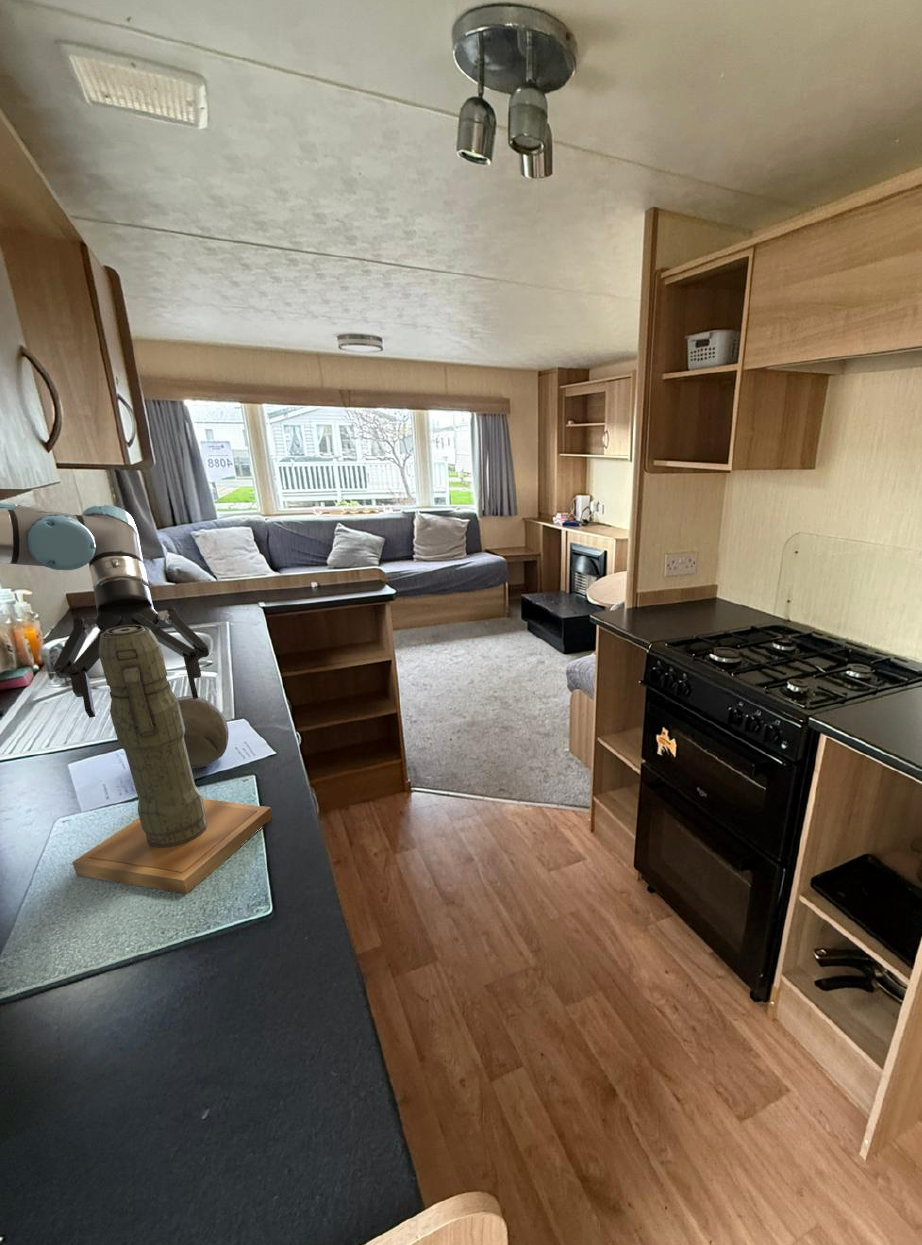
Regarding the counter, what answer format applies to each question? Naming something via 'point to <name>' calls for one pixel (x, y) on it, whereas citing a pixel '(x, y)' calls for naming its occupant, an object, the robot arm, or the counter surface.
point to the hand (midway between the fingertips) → (144, 704)
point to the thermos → (151, 736)
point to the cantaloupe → (203, 731)
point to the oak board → (174, 850)
